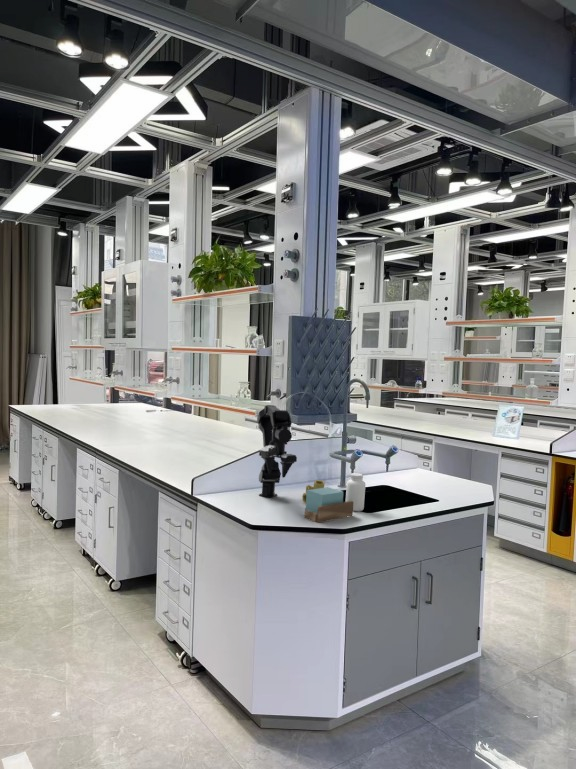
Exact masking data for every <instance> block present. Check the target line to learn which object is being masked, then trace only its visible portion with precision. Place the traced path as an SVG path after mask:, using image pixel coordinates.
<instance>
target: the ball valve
mask: <svg viewBox="0 0 576 769" xmlns="http://www.w3.org/2000/svg"><path fill="white" fill-rule="evenodd" d="M325 485H326V484H325V481H323V480H320V479H318V480H314V483H313V485H310V484H308V485H306V486H305V492H303V494H302V497H301V498H302V502H303V504H306V494H307V490H311V489H318V488H325Z"/></svg>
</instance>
